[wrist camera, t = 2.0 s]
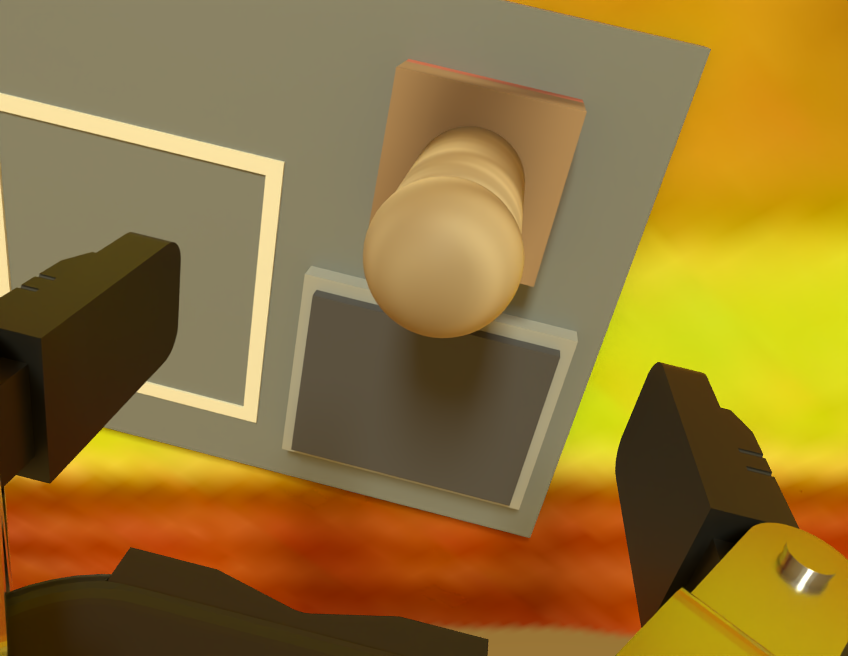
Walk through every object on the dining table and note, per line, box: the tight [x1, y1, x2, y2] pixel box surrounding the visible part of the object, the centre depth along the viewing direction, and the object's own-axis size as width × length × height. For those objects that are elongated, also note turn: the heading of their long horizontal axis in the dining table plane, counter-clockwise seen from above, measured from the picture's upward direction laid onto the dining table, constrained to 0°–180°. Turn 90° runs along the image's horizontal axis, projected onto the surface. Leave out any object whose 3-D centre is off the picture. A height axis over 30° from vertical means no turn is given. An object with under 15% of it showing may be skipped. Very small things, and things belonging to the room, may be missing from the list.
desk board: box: [0, 0, 711, 538], centre depth 26 cm, size 24×20×2 cm
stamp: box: [363, 59, 587, 338], centre depth 19 cm, size 6×6×10 cm
